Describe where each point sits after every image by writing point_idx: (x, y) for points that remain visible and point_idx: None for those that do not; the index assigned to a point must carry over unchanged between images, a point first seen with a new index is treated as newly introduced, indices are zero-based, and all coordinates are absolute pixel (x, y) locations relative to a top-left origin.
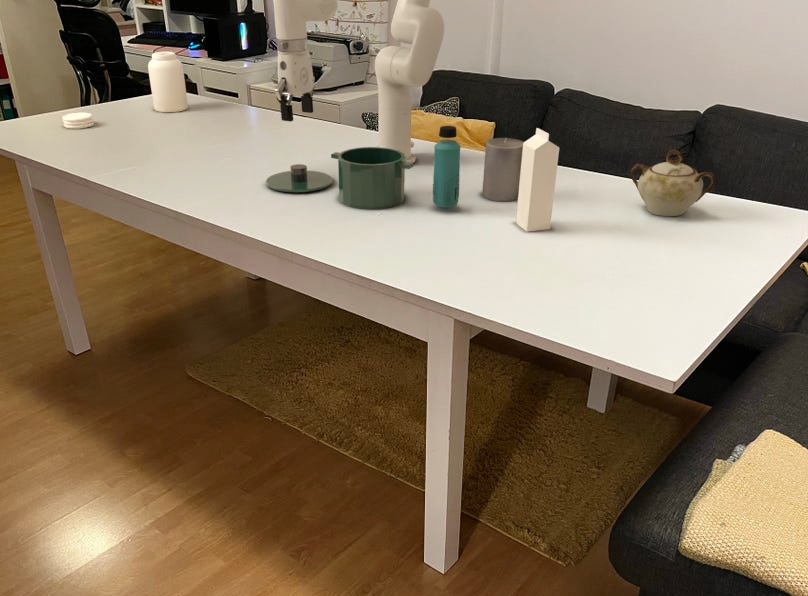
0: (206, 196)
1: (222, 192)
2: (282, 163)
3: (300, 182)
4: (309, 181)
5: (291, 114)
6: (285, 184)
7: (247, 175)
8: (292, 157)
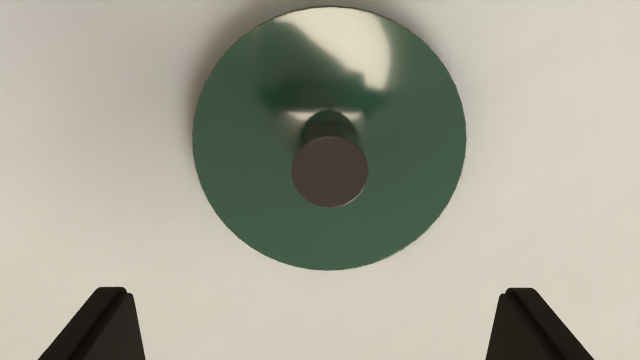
0: None
1: None
2: (143, 325)
3: (359, 131)
4: (331, 104)
5: (573, 335)
6: (408, 170)
7: (320, 348)
8: None
